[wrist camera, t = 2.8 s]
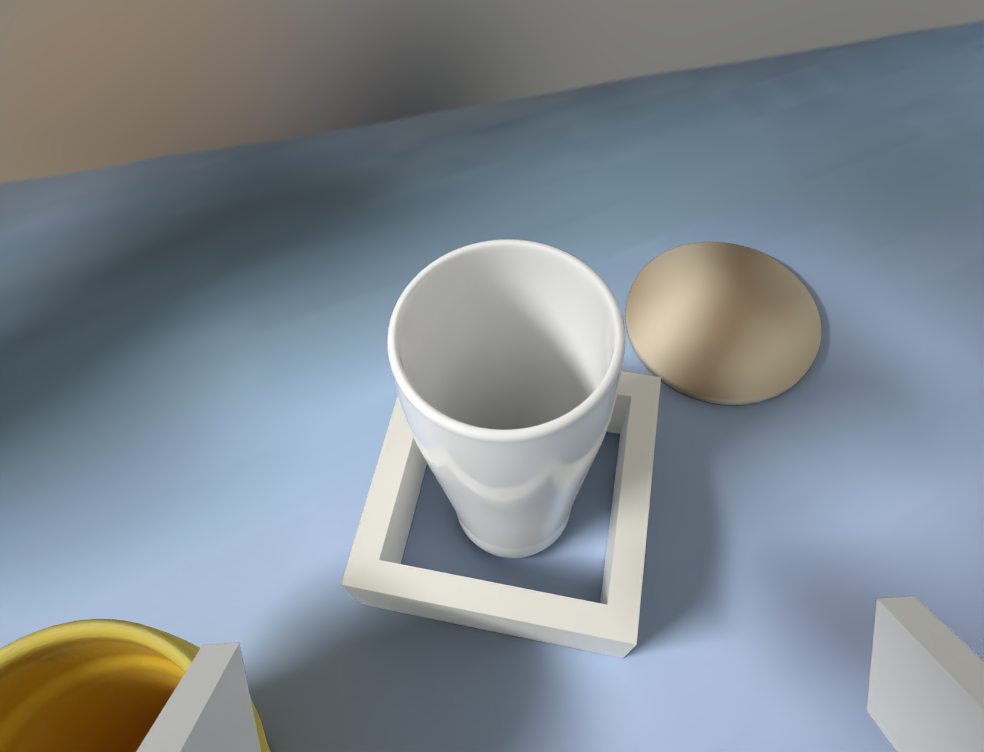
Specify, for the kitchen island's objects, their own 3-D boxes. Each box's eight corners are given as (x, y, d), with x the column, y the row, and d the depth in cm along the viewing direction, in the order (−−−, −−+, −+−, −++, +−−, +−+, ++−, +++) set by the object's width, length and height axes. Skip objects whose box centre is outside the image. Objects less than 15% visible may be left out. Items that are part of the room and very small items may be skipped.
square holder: (362, 604, 30) (340, 584, 26) (425, 381, 35) (414, 340, 32) (622, 658, 28) (636, 644, 25) (646, 416, 34) (661, 376, 30)
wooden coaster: (615, 388, 34) (616, 382, 34) (634, 238, 39) (636, 231, 39) (820, 419, 33) (825, 414, 33) (814, 261, 38) (818, 254, 37)
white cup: (616, 505, 31) (681, 328, 18) (512, 611, 29) (501, 495, 16) (514, 413, 34) (507, 199, 21) (412, 503, 32) (333, 329, 19)
